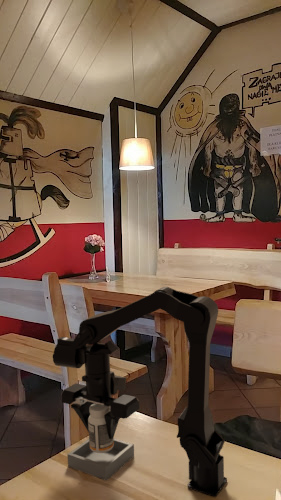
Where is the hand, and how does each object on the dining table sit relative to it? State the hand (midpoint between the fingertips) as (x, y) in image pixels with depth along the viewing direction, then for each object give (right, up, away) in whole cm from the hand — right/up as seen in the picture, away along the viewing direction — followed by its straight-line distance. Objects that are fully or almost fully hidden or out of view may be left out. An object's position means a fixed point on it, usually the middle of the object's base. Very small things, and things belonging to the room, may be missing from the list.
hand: (100, 435), depth 104 cm
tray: (0, -6, +1) cm, 6 cm away
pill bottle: (0, -3, 0) cm, 3 cm away
